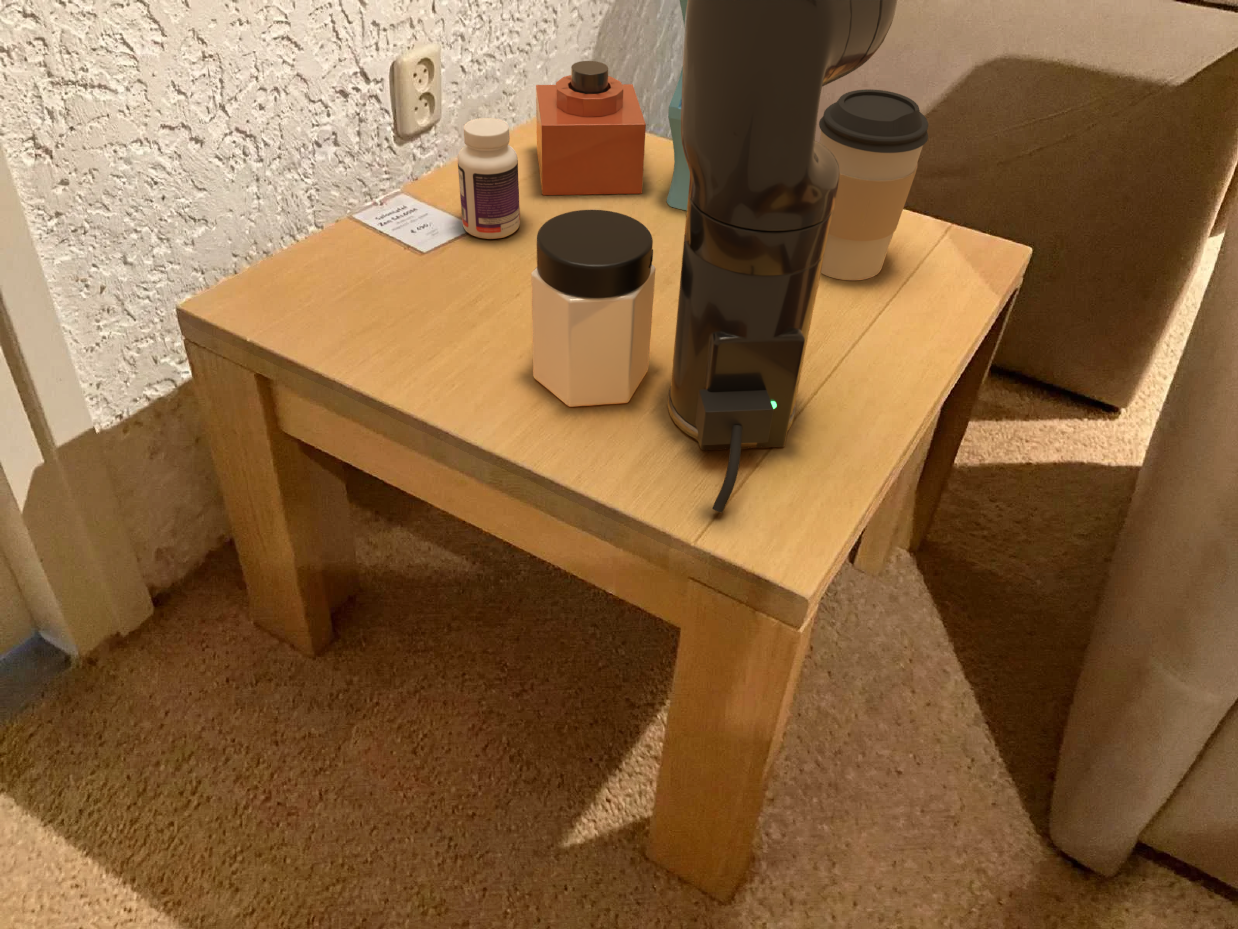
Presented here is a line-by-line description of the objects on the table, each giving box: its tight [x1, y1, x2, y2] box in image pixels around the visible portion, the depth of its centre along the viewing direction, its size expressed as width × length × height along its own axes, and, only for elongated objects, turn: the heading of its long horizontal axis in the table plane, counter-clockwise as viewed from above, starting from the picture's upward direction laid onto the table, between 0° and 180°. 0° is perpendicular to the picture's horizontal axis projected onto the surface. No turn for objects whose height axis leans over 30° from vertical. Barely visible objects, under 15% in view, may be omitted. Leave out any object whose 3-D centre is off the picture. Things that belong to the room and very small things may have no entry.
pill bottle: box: [457, 117, 521, 240], centre depth 91 cm, size 5×5×10 cm
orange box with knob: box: [535, 74, 647, 196], centre depth 100 cm, size 10×10×9 cm
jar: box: [530, 209, 657, 408], centre depth 73 cm, size 9×8×12 cm
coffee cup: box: [818, 88, 929, 281], centre depth 87 cm, size 9×9×15 cm
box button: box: [570, 60, 609, 94], centre depth 97 cm, size 4×4×2 cm
